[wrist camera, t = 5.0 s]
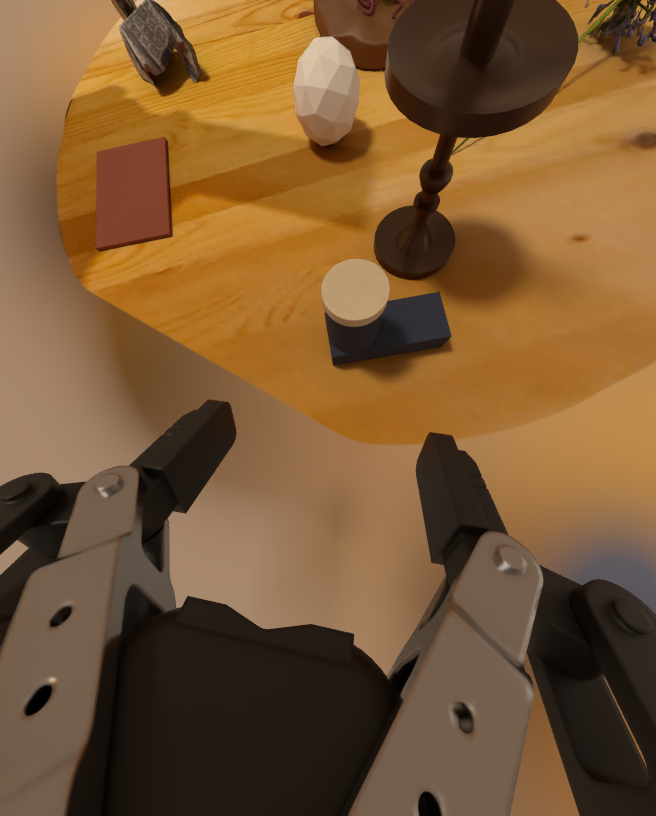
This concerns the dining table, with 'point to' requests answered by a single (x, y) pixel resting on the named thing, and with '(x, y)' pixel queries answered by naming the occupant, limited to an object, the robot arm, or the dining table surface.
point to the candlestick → (465, 99)
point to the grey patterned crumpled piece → (154, 38)
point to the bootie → (377, 315)
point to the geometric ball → (326, 91)
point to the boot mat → (132, 194)
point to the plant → (360, 26)
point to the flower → (620, 24)
